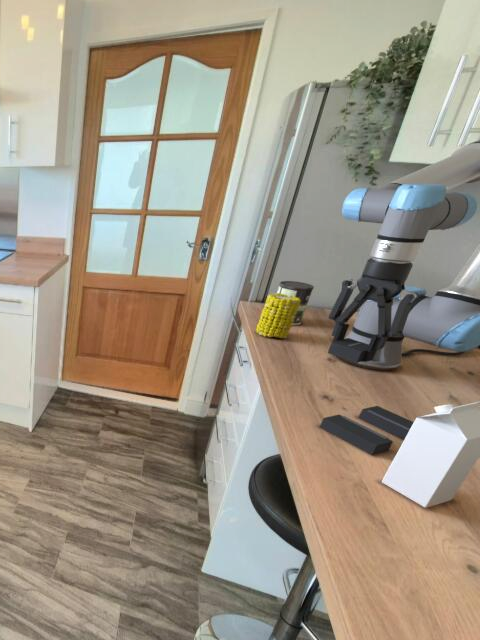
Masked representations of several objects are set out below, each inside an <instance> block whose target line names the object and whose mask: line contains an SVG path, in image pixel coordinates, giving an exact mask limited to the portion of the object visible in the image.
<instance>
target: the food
mask: <svg viewBox="0 0 480 640" xmlns="http://www.w3.org/2000/svg"><path fill="white" fill-rule="evenodd" d="M300 302H301V300H300V298H297V297H293V296H291V295H289V296H287V295H286V294H284V295H283V294H281V293H278V294H277V292H275V293H270V294H268V295H267V298H266V300H265V303H264V306H263V308H262V310H261V313H260V316H259V320H258V323H257V325H256V329H255V332H256V333H257V335H258V334H259V336H260V337H262V336H263V337H264V338H267V337H269V338H273V337H274V338H278V339H286V338H287V337H288V335H289V334H290V330H291V328H292V326H293V325H292V324H293V323H292V322H294V318H295V315H296V313H297V312H296V311H297V310H298V306H299V305H300Z"/></svg>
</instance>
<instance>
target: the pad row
mask: <svg viewBox="0 0 480 640" xmlns="http://www.w3.org/2000/svg"><path fill="white" fill-rule="evenodd" d="M358 419H359V420H362V421H364V422H366V423H368V424H370V425H372V426H374V427H377V428H378V429H381V430H383V431H384V432H387V433H389V434H391V435H393V436H395V437H397V438H399V439H401V440H403V441H404V440H405V438H406V436H407V434H408V432H409V430H410V428H411V427H412V425H413V423H414V421H412V420H410V419H408V418H405V417H403V416H401V415H399V414H397V413H394V412H392V411H390V410H388V409H386V408H384V407H381V406H378V405H375V406H370V407H365V408H362V409H361V412H360V413H359V415H358ZM319 428H321V429H322V430H325V431H326V432H328V433H330V434H332V435H333V436H336V437H337V438H339V439H341V440H342V441H343V440H344V441H345V442H347V443H349V444H350V445H352V446H354V447H356V448H358V449H360V450H361V451H364V452H366V454H369V455H370V456H374V455H377V454H381V453H385V452H389V450H390V448H391V446H392V444H393V443H394V440H392V439H389V438H388V437H387V436H386V435H383V434H381V433H379V432H377V431H376V430H373V429H371V428H369V427H368V426H365V425H363V424H362V423H359V422H358V421H355V420H353V419H351V418H349V417H347V416H345V415H342V414H334V415H330V416H327V417H323V418H322V421H321V423H320V425H319Z"/></svg>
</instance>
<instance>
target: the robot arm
mask: <svg viewBox="0 0 480 640" xmlns="http://www.w3.org/2000/svg"><path fill="white" fill-rule="evenodd" d="M476 182H480V139H478V140H475V141H473V142H470V143H468V144H466V145H463V146H461V147H459V148H457V149H456V150H455V151H454V152H453V153H452V154H451V155H450V156H448V157H446V158H444V159H440V160H439V161H437V162H435V163H434V162H433V163H432V164H430V165H427V166H425V167H423V168H421V169H418V170H416V171H414V172H412V173H409V174H406V175H404V176H402V177H400V178H397V179H395V180H393V181H391V182H389V183H386V184H384V185H382V186H379V187H375V188H372V187H361V188H360V187H359V188H358V187H357V188H356V189H353V190H352V191H350V193H348V195H347V196H346V197H345V199H344V201H343V204H342V209H341V214H342V216H343V217H344V218H345V219H346V220H351V221H355V222H356V221H357V222H358V223H360V222H362V223H373V224H381V227H380V229H379V231H378V234H377V236H376V239H375V242H374V244H373V246H372V249H371V251H370V253H369V256H370V258H368V259H367V261H366V263H365V265H364V268H363V271H362V274H361V276H360V277H359V278H358V279H346V280H343V281H342V282H341V290H340V293H339V295H338V297H337V299H336V301H335V303H334V305H333V306H332V309H331V311H330V312H329V314H328V319H329V320H332V321H333V322H334V327H333V329H332V332H331V336H333V340H332V342H333V341H338V340H342V339H346V338H350V339H353V340H356V341H359V342H362V343H366V344H369V346H368V348H367V350H366V353H365V355H364V357H363V360H362V362H359V363H355V362H352V361H349V360H347V359H344V358H341V357H338V356H335V357H336V358H337V359H338V360H340V361H342V362H344V363H346V364H348V365H351V366H355V367H358V368H362V369H366V370H373V371H379V372H393V371H397V370H399V369H400V366H401V365H402V360H403V359H402V358H403V357H405V356H409V355H410V354H412V353H419V352H420V353H429V354H435V355H441V356H442V355H444V356H459V355H460V356H461V355H463V354H465V353H467V352H469V351H472V350H474V349H475V348H478V349H480V243H479V244H478V245H477V247H476V248H475V250H474V251H473V252H472V254H471V255H470V257H469V258H468V260H467V261H466V263H465V264H464V265H463V267H462V269H460V270H459V273H458V274H457V276H456V277H455V279H454V280H453V281H452V283H451V284H450V285H449V286H447V287H444V288H441V289H438V290H437V291H436V292H435V294H434V296H427V289H426V288H423V287H419V286H412V285H405V284H406V281H407V280H408V277H409V275H410V273H411V271H412V268H413V267H414V264H413V263H412V262H415V261H416V260H417V257H418V255H419V253H420V252H421V249H422V247H423V244H424V241H425V239H426V237H427V235H428V233H429V231H436V230H437V231H438V230H440V231H445V230H449V229H453V228H457V227H460V226H463V225H465V224H466V223H468V222H470V220H472V218H473V217H474V216H475V214H476V213H477V209H478V202H477V200H476V198H475V197H474V196H473V195H471V194H469V193H466V192H460V191H458V192H457V191H450V192H448V191H449V190H452V189H454V188H456V187H459V186H461V185H463V184H472V183H473V184H474V183H476ZM356 288H357V289H358V291H359V292H358V294H357V295H356V296H355V297H354V299H353V300H352V302H351V303H350V304H349V305H348V306H347V304H348V302H349V301H350V298H351V296H352V294H353V292H354V290H355V289H356ZM346 306H347V307H346ZM356 312H358V314H357V316H356V319H355V321H354V323H353V326H352V329H351V330H350V332H349V333H348V330H349V328H350V324H348V322H349V320H350V319H352V317H353V316H354V315H355V314H356ZM347 333H348V334H347ZM346 335H347V336H346ZM405 338H407V339H411V340H414V341H417V342H421V343H425V344H427V345H429V346H433V347H436V348H438V349H443V350H449V351H451V352H448V351H442V350H441V351H440V350H433V349H427V348H426V349H425V348H414V349H413V348H412V349H409V350H407V351H406V352H403V351H402V350H403V341H404V339H405Z"/></svg>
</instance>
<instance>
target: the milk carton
mask: <svg viewBox="0 0 480 640" xmlns="http://www.w3.org/2000/svg"><path fill="white" fill-rule="evenodd" d="M479 406H480V401H475V402H470V403H467V404H463V405H457V406H453V404H451V403H450V404H442V405H437V406H434V411H435V412H433V413H430V414H425V415H421V416H417V417H416V418H415V419H414V421H413V422H414V423H413V425H412V427H411V428H410V430H409V432H408V434H407V436H406V438H405V440H403V441H402V444H401V445H400V447H399V449H398V450H397V453H396V454H395V456H394V458H393V460H392V462H391V464H390V465H389V467H388V469H387V471H386V472H385V475H384V476H383V478H382V480H381V483H382V484H384V485H385V486H387V487H389V488H391V489H392V490H394V491H395V492H398V493H399V494H401V495H402V496H404V497H406V498H407V499H409V500H411V501H413V502H414V503H416V504H417V505H419V506H421V507H422V508H425V509H427V508H430V507H434V506H437V505H441V504H444V503H446V502H450V501H452V500H453V499H454V497H455V495H456V494H457V492H458V491H459V489H460V487H462V485H463V483H464V481H465V480H466V478H467V477H468V476H469V474H470V472H471V470H472V469H473V468H474V466H475V465H476V464H477V462H478V460H479V458H480V408H479Z"/></svg>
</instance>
